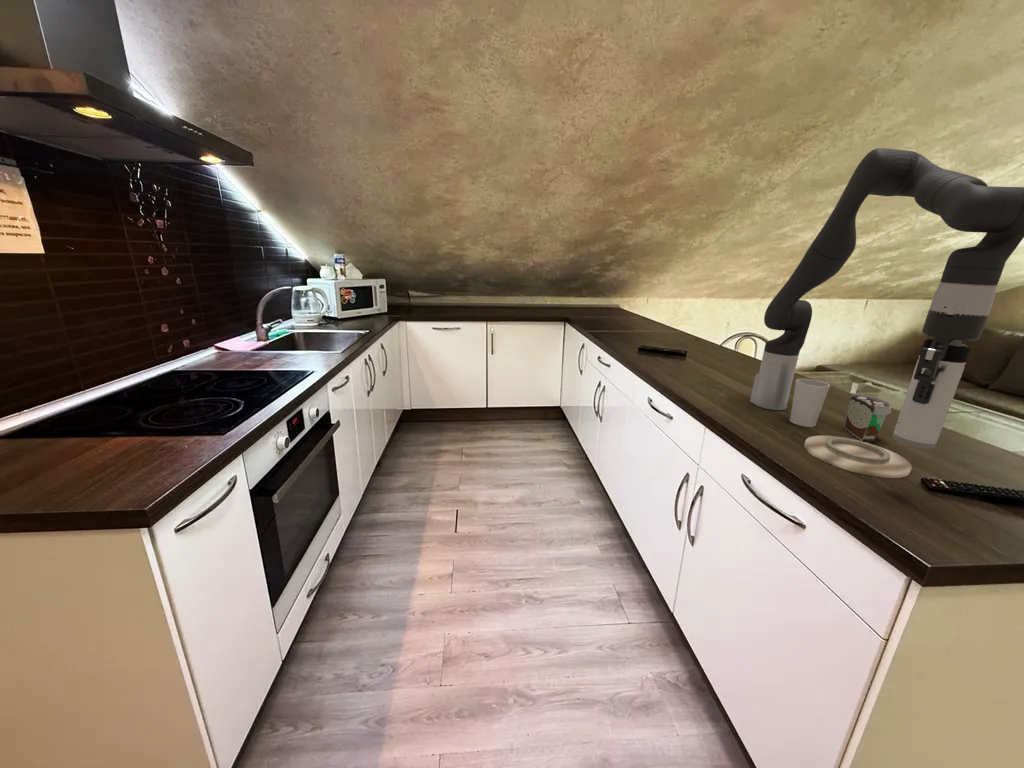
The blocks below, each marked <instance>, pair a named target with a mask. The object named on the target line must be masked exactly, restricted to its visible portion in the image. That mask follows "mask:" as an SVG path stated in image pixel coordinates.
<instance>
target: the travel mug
mask: <svg viewBox="0 0 1024 768" xmlns="http://www.w3.org/2000/svg"><path fill="white" fill-rule="evenodd" d="M933 340H934V339H930V338H927V339H924V342H923V344H922V346H921V347H922V348H921V350H922V349H923V348H924V347H926V348H930V346H931V344H932V342H933ZM971 351H972V348H970V347H968V346H967V347H965V348H964V347H959V346H953V345H949V348H948V351H947V354H946V357H945V358H944V359H943V360H942V361H940V362H939V366H938V367H942V366H943V364H944V363H947V362H948V361H949V363H948V366H947V369H946V371H945V373H943V374H940V376H939V378H938V380H937V383H936V384H935V387H934V390H933V393H932V396H931V398H930V401H929V403H927V404H921V403H917V402H914V401H913V400H912V399H913V396H914V393H915V390H916V387H917V384H918V381H917V380H916V379H914V375H915V372H916V369H917V365H918V362H919V358H920V355H921V352H920V353H919V355H918V359H917V361H916V364H915V367H914V370H913V373H912V377H911V379H910V382H909V385H908V388H907V390H906V394H905V396H904V399H903V403H902V406H901V409H900V411H899V415H898V418H897V421H896V424H895V427H894V430H893V433H892V435H891V436H892V439H893V440H894V441H896V442H897V443H900V444H902V445H905V446H908V447H912V448H917V449H920V450H922V449H923V450H933V449H934V448H935V447H936V446H937V443H938V440H939V437H940V435H941V432H942V430H943V427H944V424H945V421H946V418H947V416H948V413H949V411H950V408H951V405H952V402H953V400H954V397H955V394H956V392H957V388H958V386H959V383H960V380H961V378H962V375H963V373H964V370H965V365H966V364H967V362H968V357H969V355H970V352H971ZM930 372H931V371H930V370H927V371H926V372H925V374H926V375H930Z"/></svg>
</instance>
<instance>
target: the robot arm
mask: <svg viewBox="0 0 1024 768" xmlns="http://www.w3.org/2000/svg"><path fill="white" fill-rule="evenodd" d="M851 175H852V176H851V177H850V179H849V180H848V182H847V184H846V186H845V188H844V190H843V191H842V194H841V195H840V197H839V200H838V202H837V203H836V205H835V207H834V208H833V210H832V211H831V214H830V215H829V217H828V219H827V220H826V222H825V223H824V224H823V226H822V228H821V229H820V230H819V233H817V235H816V237H815V238H814V240H813V241H812V243H811V244H810V246H809V247H808V248H807V250H806V252H805V253H804V255H803V257H802V259H801V260H800V262H799V263H798V265H797V267H796V269H795V270H794V271H793V273H792V274H791V275H790V277H789V278H788V280H787V281H786V282H785V284H784V285H783V286H782V287H781V289H780V290H778V292H777V294H776V295H775V296H774V297H773V299H771V301H770V303H768V305H767V306H768V307H767V308H766V310H765V312H764V318H763V322H764V323H763V324H764V325H765V327H767V328H768V329H770V330H774V331H784V332H783V334H781V335H780V336H778V337H776V338H773V339H770V340H768V341H766V343H765V345H764V350H763V353H762V358H761V363H760V367H759V372H758V373H756V374H755V377H754V382H753V386H752V389H751V396H750V399H749V400H750V401H749V403H751V404H753V405H755V406H757V407H759V408H763V409H765V410H766V409H767V410H773V411H784V410H786V409H787V406H788V403H789V397H790V392H791V389H792V384H793V382H794V381H793V380H794V378H795V377H794V376H795V374H796V373H795V371H796V369H797V368H796V367H797V365H798V364H797V363H798V359H799V355H800V352H801V350H802V349H803V346H804V344H805V342H806V341H805V340H806V338H807V335H808V331H809V328H810V325H811V321H812V317H813V309H812V308H813V307H812V305H811V303H810V302H809V301H808V300H804V299H801V298H802V297H803V296H804V295H806V294H808V293H809V292H810V291H812V290H813V289H815V288H817V287H819V286H821V285H822V284H823V283H825V282H827V281H828V280H830V279H832V278H833V277H834V276H835V275H836V274H837V273H839V271H840V270H841V269H842V268H843V266H844V265H845V264H846V263H847V261H848V260H849V259H850V257H851V256H852V254H853V253H854V251H855V249H856V245H857V231H856V229H857V227H856V221H857V220H856V219H857V214H858V212H859V210H860V208H861V207H862V204H863V202H865V200H866V198H867V197H869V195H872V196H879V197H880V196H881V197H908V198H909V197H910V198H914V201H915V204H917V206H919V207H920V208H922V209H923V210H926V211H927V212H929V213H932V214H935V215H937V216H939V217H940V219H941V220H942V221H943V222H944V223H945V224H946V225H947V227H949V228H950V229H953V230H956V231H959V232H964V233H982V234H983V233H984V234H985V233H986V234H985V235H984V237H982V239H981V240H980V241H979V242H978V243H977V244H976V245H974V246H970V247H969V246H968V247H963V248H958V249H956V250H953V251H952V252H951V253H950V254H949V256H948V257H947V261H946V264H945V267H944V269H943V272H942V275H941V278H940V280H939V281H940V282H939V284H938V286H937V289H936V290H935V292H934V295H933V297H932V299H931V302H930V305H929V309H928V311H927V314H926V318H925V321H924V324H923V327H922V330H921V332H922V334H924V335H926V336H928V337H929V336H930V337H933V339H932V340H933V342H932V344H931V346H930V348H926V347H924V348H923V349H922V348H921V350H920V353H921V355H920V354H919V355H920V358H919V357H918V359H919V362H918V365H917V369H916V372H915V375H914V379H916V380H917V381H918V384H917V387H916V390H915V393H914V396H913V399H912V400H913V401H914V402H917V403H921V404H927V403H929V401H930V398H931V396H932V393H933V390H934V387H935V384H936V383H937V380H938V378H939V376H940V374H943V373H945V371H946V369H947V366H948V363H949V361H948V362H947V363H944V364H943V366H942V367H938V366H939V362H940V361H942V360H943V359H944V358H945V357H946V354H947V351H948V348H949V345H953V346H959V347H964V348H965V347H967V348H968V345H967V344H963V343H962V342H963V341H968V342H969V341H971V342H972V341H978V340H980V338H981V336H982V333H983V330H984V329H985V325H986V324H987V323H986V322H987V320H988V318H989V314H990V313H991V309H992V308H993V304H994V301H995V297H996V292H997V288H998V287H997V286H998V284H999V283H1000V279H1001V276H1002V274H1003V271H1004V268H1005V265H1006V263H1007V261H1008V260H1009V258H1010V257H1011V255H1012V254H1013V253H1014V251H1015V250H1016V249H1017V247H1018V246H1019V245H1020V244H1021V242H1022V240H1023V239H1024V186H991V185H990V186H989V185H988V184H987V183H986V182H985V180H982V179H981V178H978V177H975V176H973V175H969V174H965V173H962V172H957V171H955V170H951V169H950V170H949V169H945V168H942V167H941V166H939V165H936V164H935V163H934V162H932V161H931V160H929V159H928V158H927V157H925V156H924V155H922V154H920V153H918V152H917V151H916V152H915V151H912V150H907V149H906V150H904V149H896V148H885V147H882V148H881V147H880V148H874V149H872V150H871V151H869V152H867V154H866V155H864V157H863V158H862V159H861V161H860V162H859V164H858V165H857V166H856V168H855V170H854V171H853V173H852V174H851ZM927 370H930V371H931V372H930V375H926V374H925V372H926V371H927Z"/></svg>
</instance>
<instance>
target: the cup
mask: <svg viewBox="0 0 1024 768" xmlns="http://www.w3.org/2000/svg"><path fill="white" fill-rule="evenodd" d="M794 383H795V384H794V390H793V396H792V397H793V398H792V403H791V411H790V417H789V421H790V423H792V424H795V425H797V426H801V427H805V428H807V427H808V428H815V427H816V426H817V423H818V420H819V416H820V413H821V411H822V408H823V406H824V403H825V400H826V398H827V395H828V391H829V390H830V386H831V385H830V384H829V383H827V382H825V381H822V380H817V379H812V378H811V379H810V378H797V379H795V382H794ZM814 426H815V427H814Z"/></svg>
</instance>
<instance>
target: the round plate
mask: <svg viewBox="0 0 1024 768" xmlns="http://www.w3.org/2000/svg"><path fill="white" fill-rule="evenodd" d="M803 448H805V450H806V452H807V451H808V452H807V453H808V454H809V455H810V456H813V457H814V458H816V459H817V458H818V460H819V459H820V461H821V460H822V462H823V461H824V463H826V464H828V465H830V464H831V466H833V467H836V468H839V469H840V470H841V469H842V470H845V471H848V472H852V473H856V474H860V475H864V476H870V477H876V478H884V479H900V478H905V477H908V476H909V475H910V474H911V472H912V468H913V466H912V464H911V463H910V462H909V460H907V459H906V458H905V457H903V456H901V455H899V454H898V453H895V452H894V451H891V450H889V449H887V448H884V447H881V446H878V445H875V444H872V443H871V442H863V441H861V440H859V439H853V438H849V437H844V436H843V437H842V436H834V435H812V436H809V437H807V438H806V439H805V441H804V447H803Z"/></svg>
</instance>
